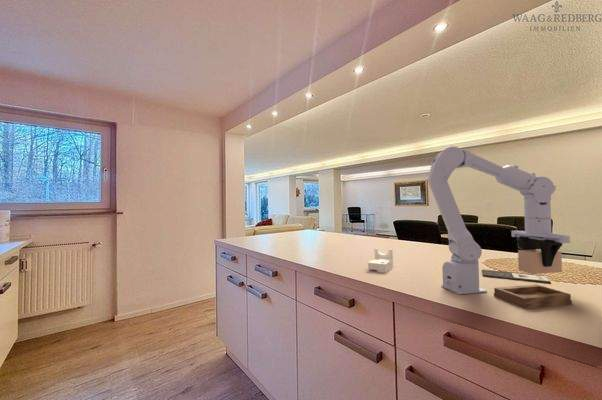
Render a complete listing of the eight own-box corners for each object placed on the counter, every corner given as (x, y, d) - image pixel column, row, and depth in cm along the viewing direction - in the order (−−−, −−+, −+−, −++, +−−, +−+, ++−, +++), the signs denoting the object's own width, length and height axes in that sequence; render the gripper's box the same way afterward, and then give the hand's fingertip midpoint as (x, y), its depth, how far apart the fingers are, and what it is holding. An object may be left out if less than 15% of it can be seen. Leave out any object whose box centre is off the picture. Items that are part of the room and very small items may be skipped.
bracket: (376, 264, 116) (376, 247, 116) (393, 266, 112) (392, 248, 113) (368, 271, 105) (367, 252, 105) (386, 273, 101) (385, 254, 101)
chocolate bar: (481, 269, 101) (543, 275, 91) (481, 271, 101) (543, 278, 91) (482, 275, 93) (550, 282, 83) (483, 277, 93) (551, 285, 83)
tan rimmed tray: (525, 308, 65) (525, 298, 65) (493, 296, 74) (493, 287, 74) (572, 304, 67) (571, 294, 67) (535, 292, 76) (535, 284, 76)
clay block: (532, 274, 73) (532, 252, 73) (518, 270, 77) (518, 250, 77) (561, 272, 74) (561, 251, 75) (546, 268, 78) (546, 248, 79)
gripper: (578, 219, 69) (580, 269, 69) (524, 216, 84) (525, 258, 83) (556, 219, 68) (558, 271, 68) (505, 217, 83) (506, 259, 82)
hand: (538, 264), depth 76 cm, fingers closed on clay block, 4 cm apart
